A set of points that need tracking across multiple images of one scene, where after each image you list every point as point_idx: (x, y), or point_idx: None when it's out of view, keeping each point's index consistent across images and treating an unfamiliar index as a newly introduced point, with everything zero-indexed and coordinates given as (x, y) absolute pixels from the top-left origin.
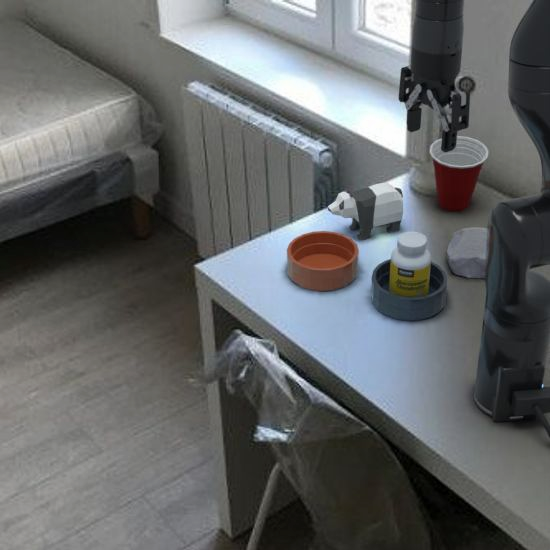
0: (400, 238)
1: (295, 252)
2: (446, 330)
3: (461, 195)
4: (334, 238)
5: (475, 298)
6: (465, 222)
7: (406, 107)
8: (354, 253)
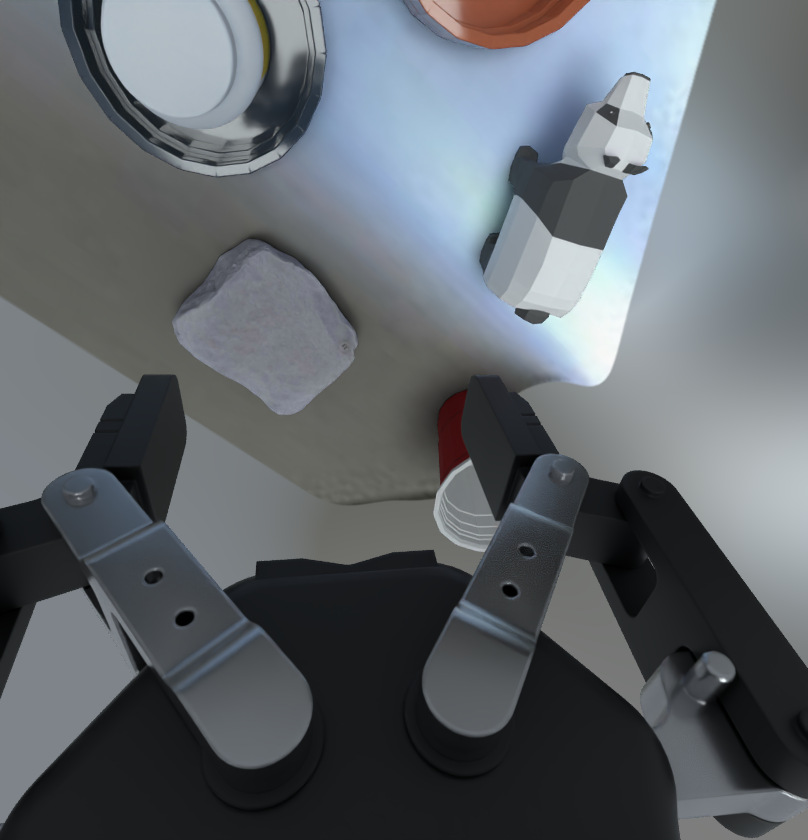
0: (195, 2)
1: None
2: (11, 14)
3: (444, 429)
4: (545, 19)
5: (133, 209)
6: (404, 392)
7: (561, 460)
8: None
